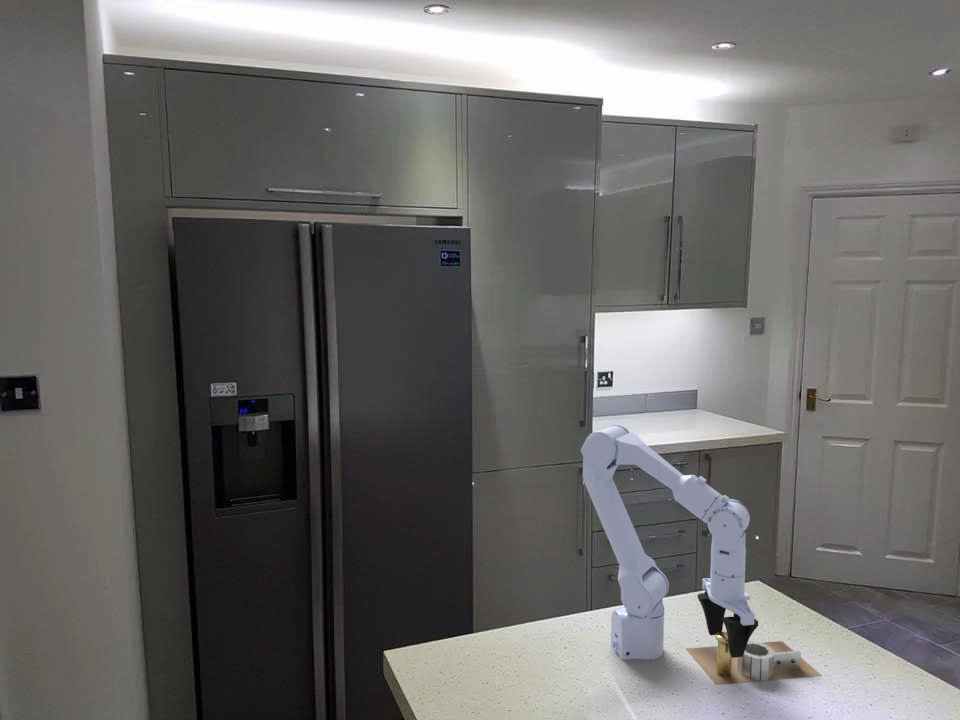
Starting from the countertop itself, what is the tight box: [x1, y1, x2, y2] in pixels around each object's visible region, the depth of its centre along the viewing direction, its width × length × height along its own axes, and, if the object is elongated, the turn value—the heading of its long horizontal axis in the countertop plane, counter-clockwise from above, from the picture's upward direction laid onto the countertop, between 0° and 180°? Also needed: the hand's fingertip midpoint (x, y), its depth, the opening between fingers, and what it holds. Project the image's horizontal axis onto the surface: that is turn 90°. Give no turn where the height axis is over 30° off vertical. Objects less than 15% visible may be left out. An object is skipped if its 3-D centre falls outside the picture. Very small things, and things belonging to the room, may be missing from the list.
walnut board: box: [685, 640, 822, 686], centre depth 122 cm, size 20×12×1 cm, turn 98°
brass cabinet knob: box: [715, 631, 732, 677], centre depth 118 cm, size 3×3×7 cm
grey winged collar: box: [737, 640, 802, 682], centre depth 122 cm, size 12×12×4 cm
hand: (725, 644), depth 118 cm, fingers open, 7 cm apart
